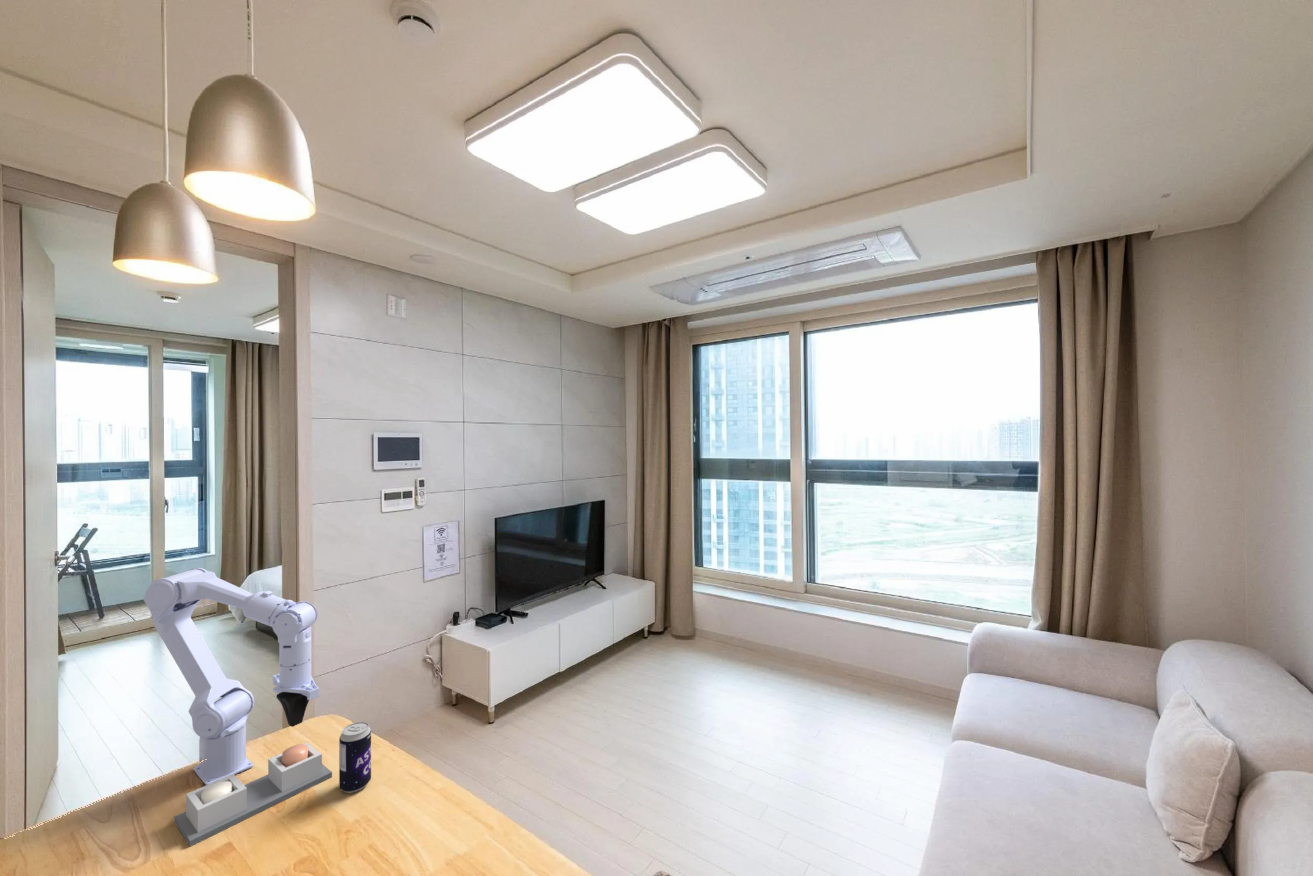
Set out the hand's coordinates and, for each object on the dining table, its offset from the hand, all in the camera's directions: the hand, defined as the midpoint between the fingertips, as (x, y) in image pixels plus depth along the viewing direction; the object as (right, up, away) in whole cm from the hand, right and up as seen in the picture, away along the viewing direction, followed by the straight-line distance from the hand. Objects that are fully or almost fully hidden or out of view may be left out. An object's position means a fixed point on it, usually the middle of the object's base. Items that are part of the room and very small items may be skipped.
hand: (295, 723), depth 113 cm
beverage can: (+16, -10, -5) cm, 20 cm away
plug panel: (-1, -10, -9) cm, 13 cm away
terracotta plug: (+2, -8, -3) cm, 9 cm away
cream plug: (-5, -9, -14) cm, 17 cm away
